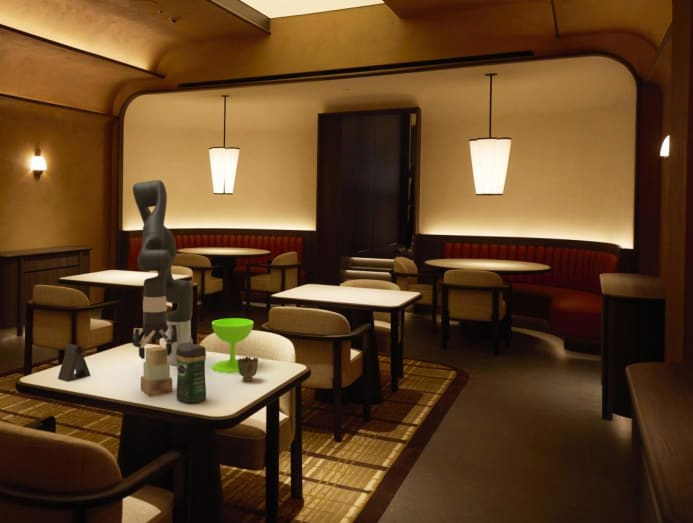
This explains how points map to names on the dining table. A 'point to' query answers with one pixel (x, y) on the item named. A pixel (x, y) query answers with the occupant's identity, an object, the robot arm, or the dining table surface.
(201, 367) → the coffee jar
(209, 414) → the dining table surface
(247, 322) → the wineglass
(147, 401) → the dining table surface
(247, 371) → the cup
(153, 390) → the walnut base block
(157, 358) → the tan wooden cube
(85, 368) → the dark grey a-frame stand
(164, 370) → the sage top block
